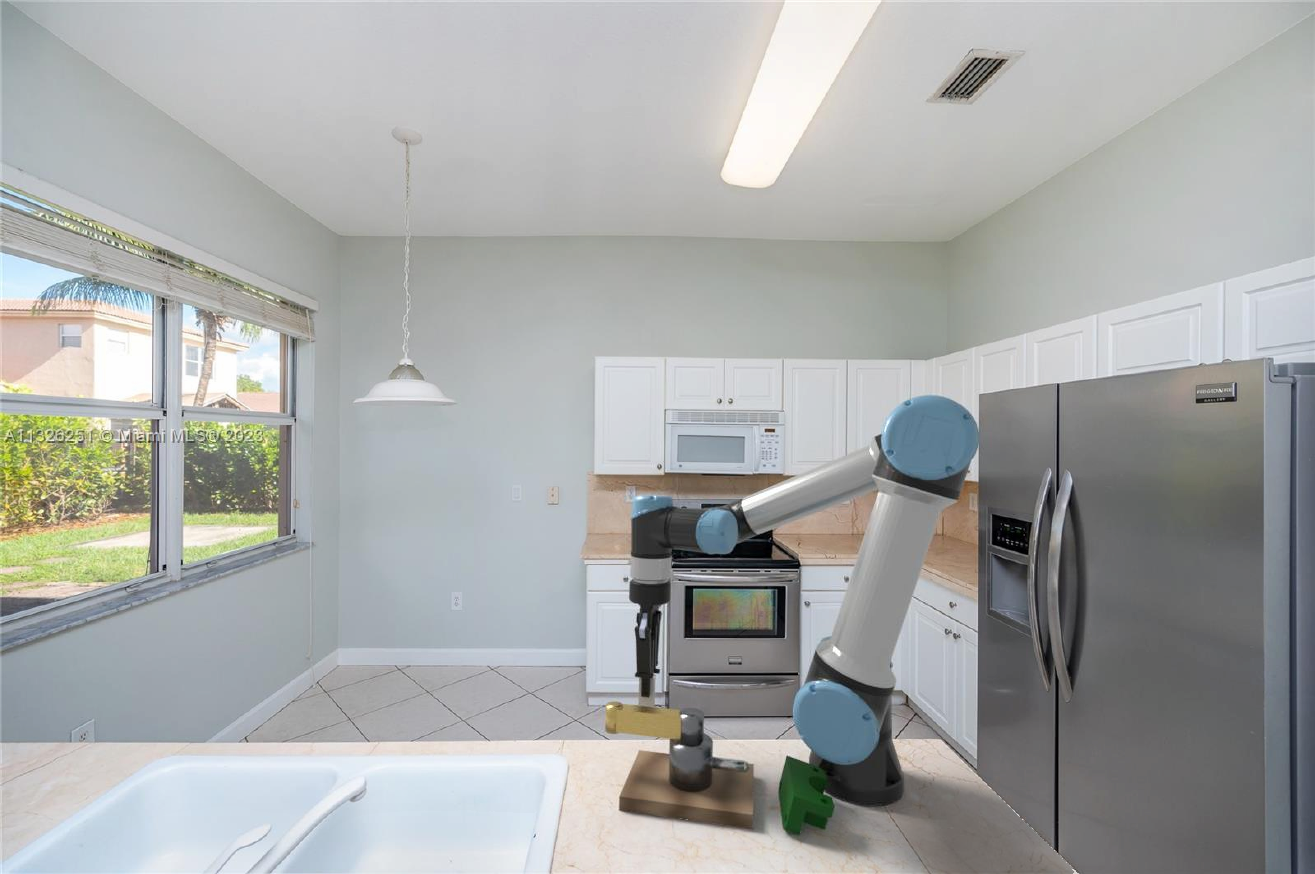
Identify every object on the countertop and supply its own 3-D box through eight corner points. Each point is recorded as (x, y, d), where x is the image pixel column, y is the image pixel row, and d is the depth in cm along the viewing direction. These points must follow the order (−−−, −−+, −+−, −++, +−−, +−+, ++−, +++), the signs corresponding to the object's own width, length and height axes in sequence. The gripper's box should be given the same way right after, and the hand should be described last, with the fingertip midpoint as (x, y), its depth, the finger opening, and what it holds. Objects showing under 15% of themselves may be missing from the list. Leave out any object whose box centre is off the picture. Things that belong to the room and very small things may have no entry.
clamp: (817, 864, 77) (837, 823, 73) (776, 849, 78) (794, 807, 74) (814, 788, 88) (831, 749, 84) (778, 775, 89) (794, 736, 85)
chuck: (749, 774, 88) (749, 737, 88) (748, 800, 81) (749, 758, 81) (672, 765, 90) (673, 728, 91) (665, 788, 83) (666, 748, 84)
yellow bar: (704, 734, 88) (705, 709, 88) (702, 746, 84) (702, 720, 85) (608, 723, 91) (609, 699, 91) (602, 734, 87) (602, 709, 88)
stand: (753, 776, 91) (753, 764, 91) (752, 829, 77) (753, 814, 77) (638, 761, 95) (639, 750, 95) (618, 810, 81) (619, 796, 81)
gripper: (637, 572, 105) (634, 696, 103) (621, 585, 92) (616, 727, 90) (675, 574, 103) (672, 700, 102) (664, 588, 91) (660, 732, 89)
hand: (646, 712), depth 96 cm, fingers closed
